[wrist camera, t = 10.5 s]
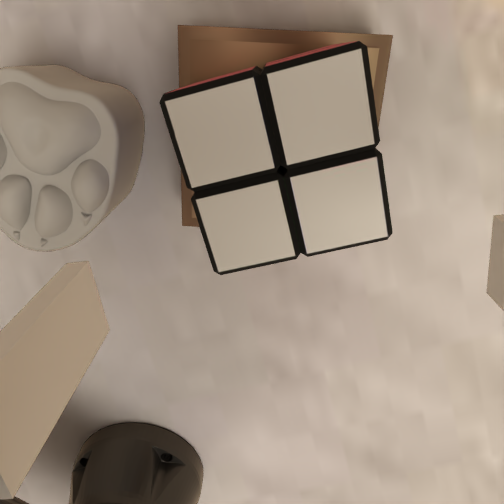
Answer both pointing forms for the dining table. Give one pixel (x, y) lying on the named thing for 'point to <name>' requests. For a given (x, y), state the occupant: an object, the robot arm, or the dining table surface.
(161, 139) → the dining table surface
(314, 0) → the dining table surface
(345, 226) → the puzzle cube
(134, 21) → the dining table surface
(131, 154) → the lumpy-topped squat cylinder
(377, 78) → the walnut box
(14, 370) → the robot arm
